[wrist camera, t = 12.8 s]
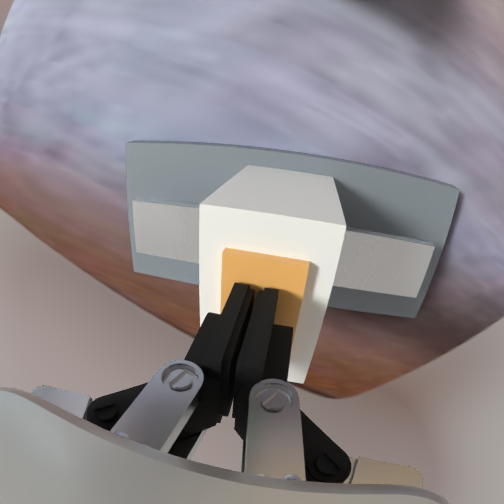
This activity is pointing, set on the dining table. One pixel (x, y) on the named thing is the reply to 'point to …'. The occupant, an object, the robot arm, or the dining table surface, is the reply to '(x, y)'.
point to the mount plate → (343, 171)
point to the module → (274, 248)
